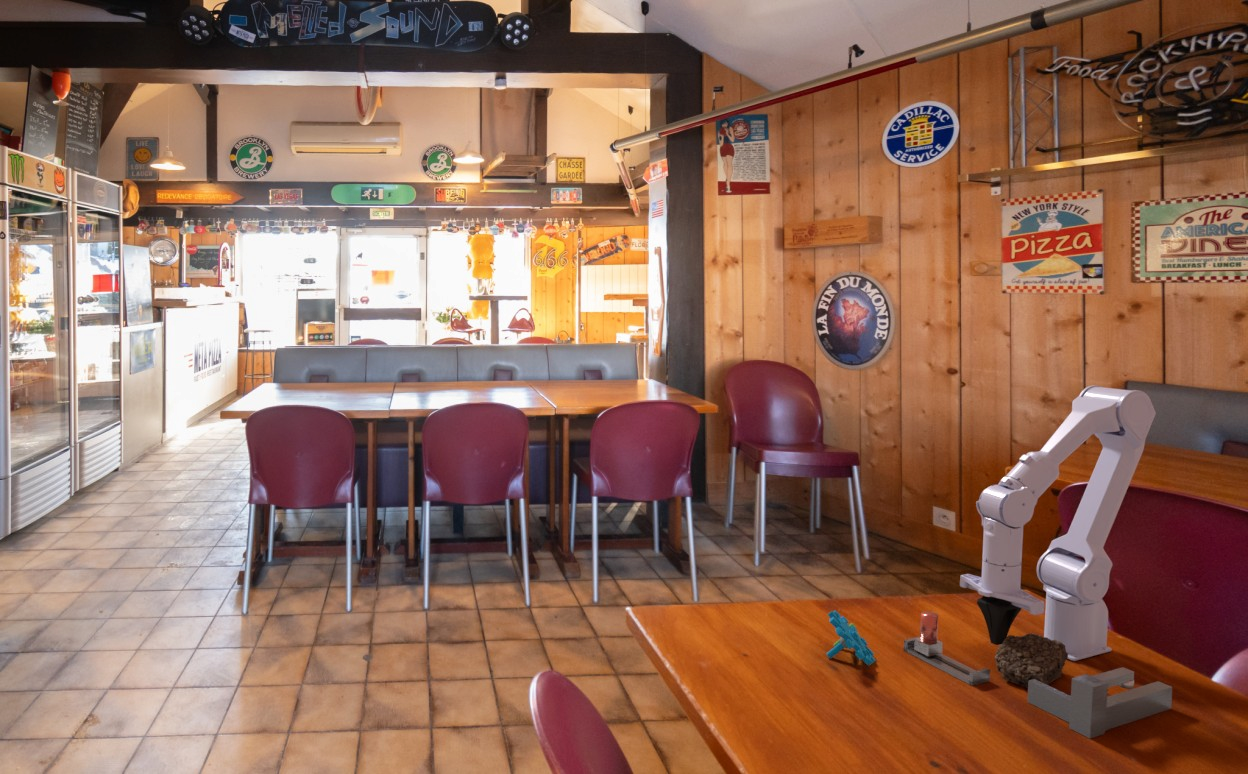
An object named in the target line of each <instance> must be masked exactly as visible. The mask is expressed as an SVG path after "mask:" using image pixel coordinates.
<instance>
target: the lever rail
mask: <svg viewBox="0 0 1248 774" xmlns="http://www.w3.org/2000/svg"><path fill="white" fill-rule="evenodd" d="M916 638H920V636H915V637H911V638H908V639H904V640H903V651H904V652H905V653H907V654H910V655H911V656H914V657H916V658H917V659H919V660H921V661H923V662H925V663H927V664H929V665H931V666H933V667H935V668H937V669H939V670H941V671H942V672H945V673H947V674H948V675H951V676H953V677H955V678H956V679H959V680H960V681H963V682H964V683H966V684H967V685H970V686H976V685H981V684H984V683H988V682H990V679H991V678H990V677H991V669H989V668H987V667H986V668H983V669H978V670H975V669H973V668H971V667H970V666H967V665H965V664H963V663H961V662H959V661H958V660H955V659H954V658H951V657H949V656H947V655H945V654H943V653H941V654H937V655H933V656H926V655H924V654H922V653H920V652H918V651H916V650H914V645H915V639H916Z"/></svg>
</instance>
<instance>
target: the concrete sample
mask: <svg viewBox="0 0 1248 774" xmlns="http://www.w3.org/2000/svg"><path fill="white" fill-rule="evenodd" d="M994 659H995V665H996V670H997V672H998V673H1001V678H1002V679H1003V680H1004V681H1006V682H1011V683H1013V684H1016V685H1018V686H1021V687H1024V688H1026V689H1028V681H1029V680H1032V679H1035V680H1038V681H1040V682H1042V683H1044V684H1046V685H1048V686H1050V683H1053V681H1055V680H1057V679H1059V678H1060V677H1062V673H1063V669H1064V666H1065V665H1066V663H1065V662H1066V659H1068V653H1067V652H1066V649H1065V645H1064V644H1062V643H1061V642H1060V641H1059V642H1058V641H1057V640H1050V639H1048V638H1047V637H1044V636H1042V635H1040V634H1036V633H1030V632H1028V633H1027V634H1025V635H1020V636H1018V635H1016V636H1015V635H1012V634H1009V635H1007V638H1005V640H1004V641H1003V643H1002V644H1000V645H998V647H997V649H996V654H995V655H994Z"/></svg>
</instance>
